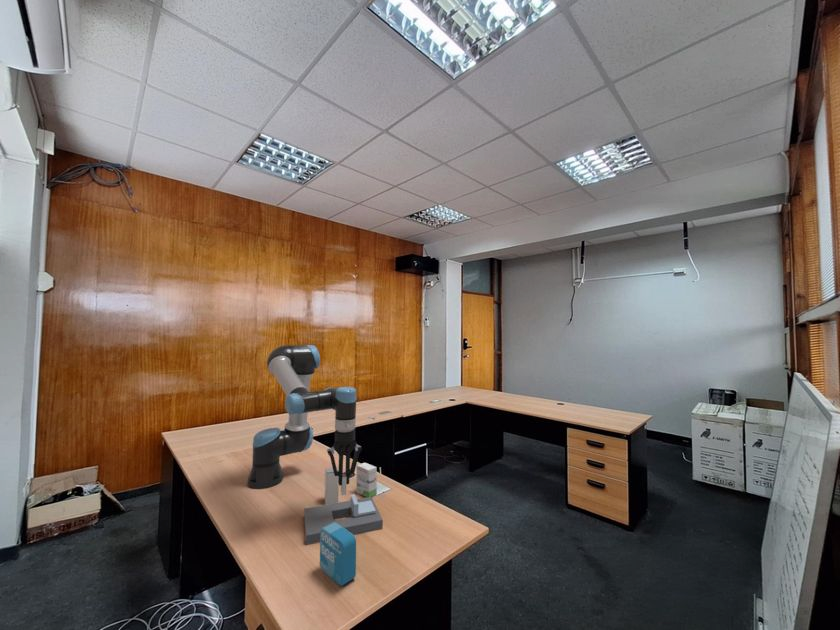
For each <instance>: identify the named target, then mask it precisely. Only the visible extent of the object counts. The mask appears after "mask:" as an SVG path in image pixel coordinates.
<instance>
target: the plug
mask: <svg viewBox="0 0 840 630" xmlns="http://www.w3.org/2000/svg"><path fill="white" fill-rule="evenodd" d="M336 468H337V471H339V468H338V466H336ZM338 478H339V477H338V476H335V475H334V472H333V467H326V468H325V471H324V503H325V504H324V505H328V504H333V503H339V483H338Z"/></svg>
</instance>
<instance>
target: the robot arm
mask: <svg viewBox="0 0 840 630" xmlns="http://www.w3.org/2000/svg"><path fill="white" fill-rule="evenodd" d="M266 365H267V366H266V367H267V369H268V372H269V373H271V374H272V375H273V376H275V378H276V380H277V382H278V384H279V385H280V387H281V389H282V391H283V392H284V394H285V396H286V397H285V401H284V408H285V411H286V413H287V414H288V422H286V423H285V424H284V429H282V430H281V428H279V427H270V428H269V427H268V428H267V429H266V428H265V429H263V430H261V431H259V432H256V433H255V434H254V436H253V440H252V465H251V466H252V467H251V470H250V473H249V475H248V478H247V486H248V488H250V489H267V488H270V487H274V486H276V485H278V484H280V483H281V482H283V479H284V472H283V470H282V467H281V463H280V460H281V459H280V457H284V456H288V455H291V454H296V453H302V452H304V451H307V450H309V448H311V446H312V443H313V440H314V434H313V433H314V430H313V428H312V427H311V426H310V423H309V422H308V421H307V420H308V413H313V412H319V411H320V412H321V411H326V410H334V411H335V412H334V413H335V415H334V416H335V417H334V418H335V420H334V427H335V428H334V429H335V430H334V443H333V444H332V447H330V448H327V450H326V452H327V454H328V456H329V458H330V462H331V463H330V464H331V466H332V467H333V472H334V475H335V476H338V477H339V478H338V483H339V484H338V487H339V486H340V494H341V495H342V496H345V495H347V485H349V484H350V476H351V475H352V474H354V473H355V471H356V469H357V465H358V459H359V456H360V453H361V452H362V451H363V448H362V446H361V444H360V445H358V444H357V442H356V416H357V415H356V413H357V390H356V388H355V387H352V386H341V387H338V388H336V387H327V388H325V389H324V390H315V391H310V390H311V380H312V376H313V375H314V374H315V371H316V370H317V369H318V368H319V367H320V365H321V355H320V352H319V349H318V348H317V346H315V345H313V344H310V345H309V344H294V345H292V344H291V345H281V346H278V347H276V348H274V349H273V350H272V351H271V352H270V353H269V354H268V357H267V360H266ZM353 451H354V452H353ZM335 452H336V453H337V454H338V467H337V464H336V460H335V456H334V454H335ZM352 452H353V453H354V454H353V457H352V461H351V454H352ZM344 456H345V469H344ZM332 467H331V468H332ZM336 467H337V468H336ZM337 469H338V471H337ZM344 470H345V473H344V472H343V471H344Z"/></svg>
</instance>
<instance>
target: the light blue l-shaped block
mask: <svg viewBox="0 0 840 630" xmlns="http://www.w3.org/2000/svg"><path fill="white" fill-rule="evenodd" d="M357 499H358V498H357V496H356V493H355V494H350V500H351V509H352V512H353V515H354V517H356V516H361V515H367V514H372V513H376V510H375V508H374V506H373V503H372V501H371V500H370V501H365V502H359V503H358V501H357Z"/></svg>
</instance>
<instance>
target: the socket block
mask: <svg viewBox="0 0 840 630" xmlns="http://www.w3.org/2000/svg"><path fill="white" fill-rule="evenodd" d="M356 499H357V501H358V503H359V502H365V501H370V500H371V501H372V503H373V506H374V508H375V510H376V513H372V514H367V515H361V516H356V517H354V515H353V512H352V509H351V499H350V500H346V501H338V502H337V503H331V504H322V505H319V506H318V505H317V506H312V507H305V508H304V513H303V514H304V515H303V519H304V536H305V545H306V546H308V545H312V544H317V543H320V531H321V529H322V528H323V527H325V526H328V525H330V524H332V523H334V522H336V523H337V524H339V525H340V526H342V527H343V528H345V529H346V530H347V531H349V532H350V533H352V534H353V535H354V536H355V535H359V534H364V533H368V532H373V531H377V530H382V529H383V524H384V523H383V518H382V515H381V514H380V512H379V509H378V508H377V505H376V503H375V501H374V499H373V496H372V497H362V498H356ZM345 517H347V518H345ZM341 518H342V519H341ZM334 519H336V520H334Z"/></svg>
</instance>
